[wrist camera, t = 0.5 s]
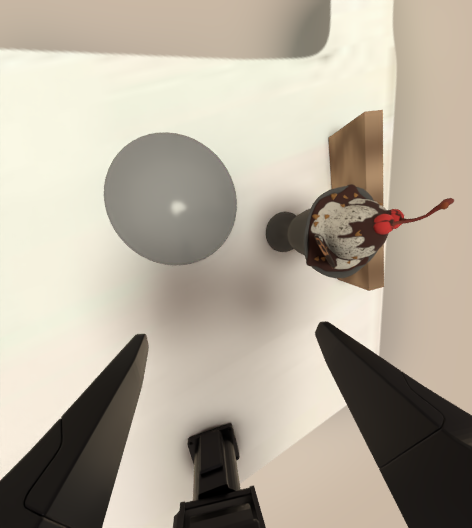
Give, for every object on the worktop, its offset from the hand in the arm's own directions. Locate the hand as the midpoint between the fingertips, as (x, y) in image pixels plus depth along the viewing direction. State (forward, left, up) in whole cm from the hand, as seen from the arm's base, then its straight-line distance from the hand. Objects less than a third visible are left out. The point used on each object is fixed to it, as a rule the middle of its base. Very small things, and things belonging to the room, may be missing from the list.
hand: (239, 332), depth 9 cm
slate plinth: (+8, +3, -14) cm, 16 cm away
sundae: (+3, -9, -14) cm, 17 cm away
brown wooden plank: (+4, -17, -14) cm, 22 cm away
